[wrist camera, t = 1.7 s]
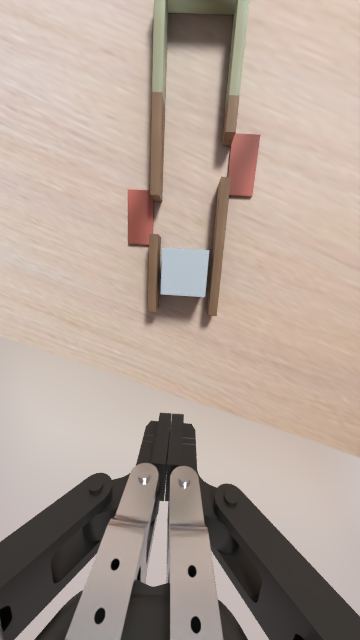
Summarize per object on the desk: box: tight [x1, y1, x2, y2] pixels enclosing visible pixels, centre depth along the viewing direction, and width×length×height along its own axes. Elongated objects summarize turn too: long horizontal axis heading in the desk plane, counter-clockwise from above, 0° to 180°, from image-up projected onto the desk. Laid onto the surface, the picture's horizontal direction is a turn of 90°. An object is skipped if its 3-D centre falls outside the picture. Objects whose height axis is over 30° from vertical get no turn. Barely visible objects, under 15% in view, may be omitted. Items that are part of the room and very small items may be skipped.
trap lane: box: [128, 0, 260, 316], centre depth 23 cm, size 14×31×3 cm, turn 177°
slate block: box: [161, 247, 209, 297], centre depth 25 cm, size 5×5×4 cm
